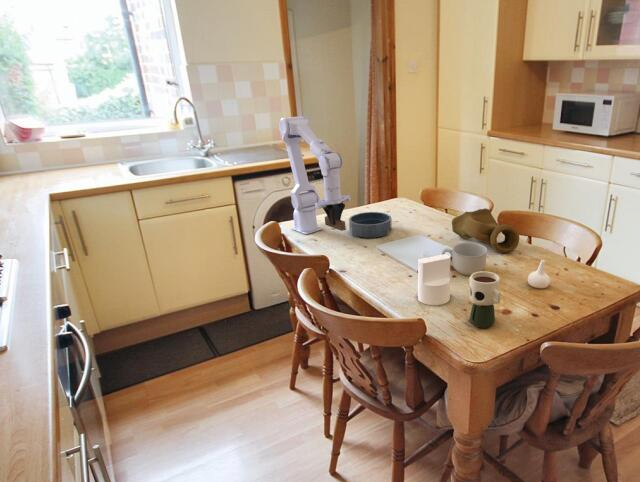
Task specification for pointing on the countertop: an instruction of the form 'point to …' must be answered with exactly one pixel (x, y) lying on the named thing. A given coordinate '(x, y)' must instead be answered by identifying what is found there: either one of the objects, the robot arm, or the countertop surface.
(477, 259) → the teacup
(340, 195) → the robot arm
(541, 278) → the garlic bulb
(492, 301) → the character mug
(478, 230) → the brown looped sculpture
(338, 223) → the brown rectangular block
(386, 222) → the bowl
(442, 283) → the cylinder with rectangular tab
